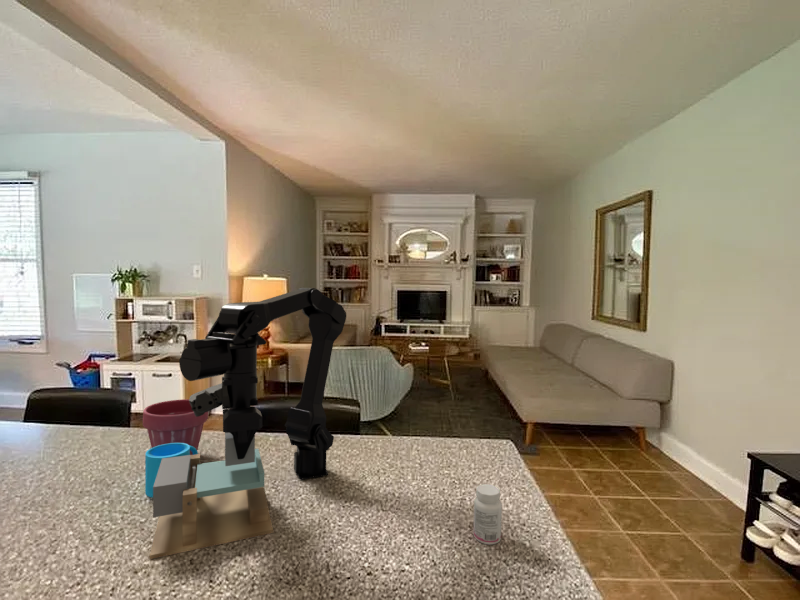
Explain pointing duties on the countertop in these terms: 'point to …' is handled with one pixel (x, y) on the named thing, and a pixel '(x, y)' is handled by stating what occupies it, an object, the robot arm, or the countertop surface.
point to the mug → (155, 457)
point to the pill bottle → (487, 514)
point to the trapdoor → (201, 481)
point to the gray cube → (232, 455)
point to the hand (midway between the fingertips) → (240, 453)
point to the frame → (211, 519)
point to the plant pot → (173, 423)
